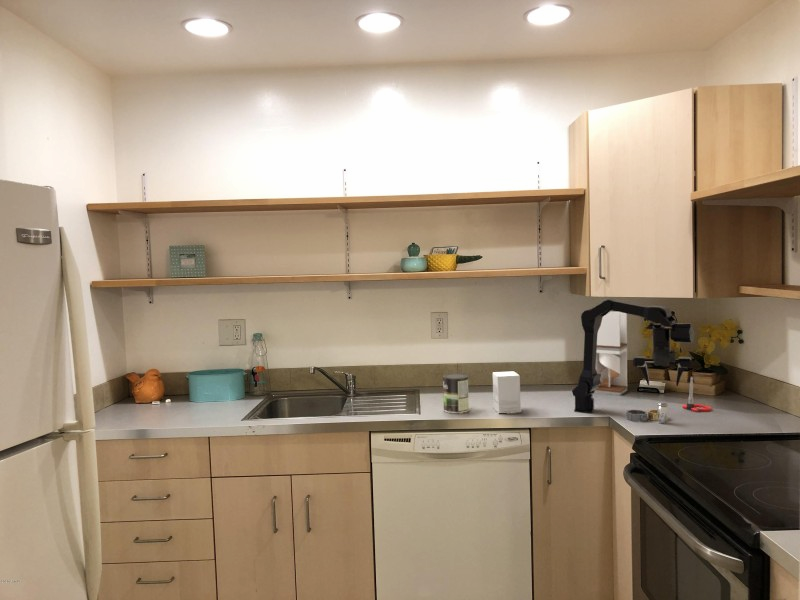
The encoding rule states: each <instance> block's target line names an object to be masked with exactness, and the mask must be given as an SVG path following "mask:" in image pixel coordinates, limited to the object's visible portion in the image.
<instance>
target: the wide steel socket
mask: <svg viewBox="0 0 800 600" xmlns="http://www.w3.org/2000/svg"><path fill="white" fill-rule="evenodd" d="M625 416H626V417H625V419H626V420H627V419H628V421H630V420H631V422H637V421H643V422H647V421H648V411H645V410H642V409H627V410H626V413H625ZM646 420H647V421H646Z"/></svg>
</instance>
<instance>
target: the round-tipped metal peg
mask: <svg viewBox="0 0 800 600" xmlns="http://www.w3.org/2000/svg"><path fill="white" fill-rule="evenodd" d="M657 410H658V421H657V423H658V422H659V423H658V424H660V423H667V424H668V402H661V401H660V402H658V403H657Z"/></svg>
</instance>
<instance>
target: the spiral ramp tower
mask: <svg viewBox="0 0 800 600" xmlns="http://www.w3.org/2000/svg"><path fill="white" fill-rule="evenodd" d="M596 371H597V374H601V378H600V382H601V384H599V387H598V388H597V389H596V390H595V393H596V394H602V393H603V394H604V395H614V396H621V395H623V394H625V393H626V392H627V391H628V314H627V313H622V312H617V311H610V312H609V313H608V314H606V315H605V316H603V317H602V322H601V326H600V328H599V330H598V333H597V351H596Z"/></svg>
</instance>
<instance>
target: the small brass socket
mask: <svg viewBox="0 0 800 600" xmlns="http://www.w3.org/2000/svg"><path fill="white" fill-rule="evenodd" d="M648 418H649V420H651V419H652V420H651V421H657V420H658V409H648V411H647V419H648Z"/></svg>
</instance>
